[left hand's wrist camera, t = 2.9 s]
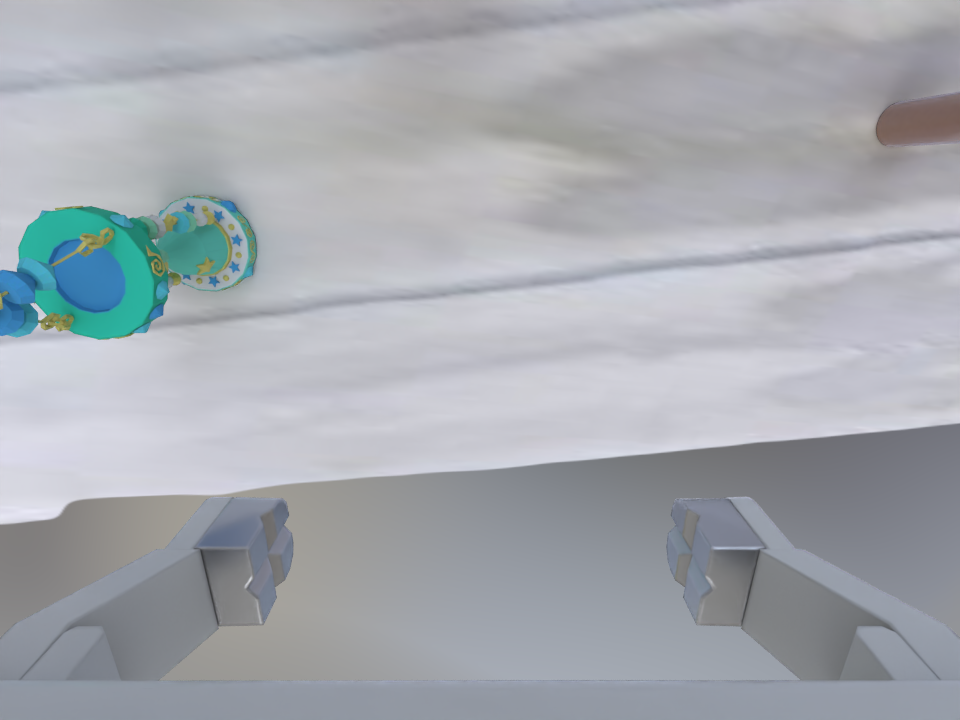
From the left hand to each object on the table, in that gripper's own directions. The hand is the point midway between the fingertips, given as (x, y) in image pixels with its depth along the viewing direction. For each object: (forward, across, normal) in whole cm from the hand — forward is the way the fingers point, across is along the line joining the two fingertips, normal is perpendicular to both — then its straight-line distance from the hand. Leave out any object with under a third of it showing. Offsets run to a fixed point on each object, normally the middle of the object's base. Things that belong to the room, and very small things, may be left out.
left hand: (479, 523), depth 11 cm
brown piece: (+48, -42, -11) cm, 65 cm away
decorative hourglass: (+48, +29, 0) cm, 56 cm away
